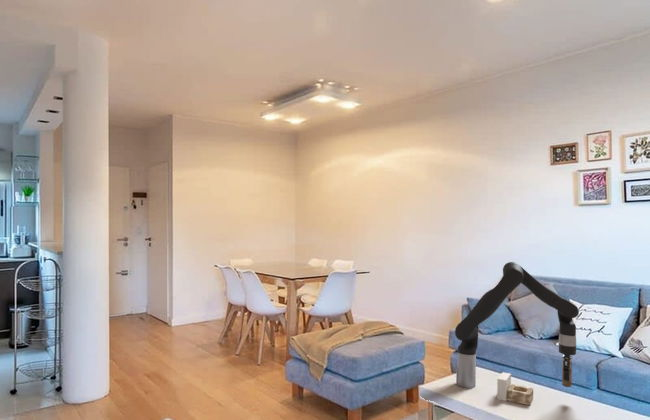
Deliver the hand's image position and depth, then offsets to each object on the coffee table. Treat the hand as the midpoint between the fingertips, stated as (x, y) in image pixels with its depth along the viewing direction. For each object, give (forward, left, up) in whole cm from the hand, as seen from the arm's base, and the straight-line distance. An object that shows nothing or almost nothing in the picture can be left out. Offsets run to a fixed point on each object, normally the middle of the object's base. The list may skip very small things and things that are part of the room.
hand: (566, 378), depth 217 cm
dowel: (0, 0, -3) cm, 3 cm away
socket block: (-19, -10, -11) cm, 25 cm away
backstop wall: (-27, -10, -11) cm, 31 cm away
